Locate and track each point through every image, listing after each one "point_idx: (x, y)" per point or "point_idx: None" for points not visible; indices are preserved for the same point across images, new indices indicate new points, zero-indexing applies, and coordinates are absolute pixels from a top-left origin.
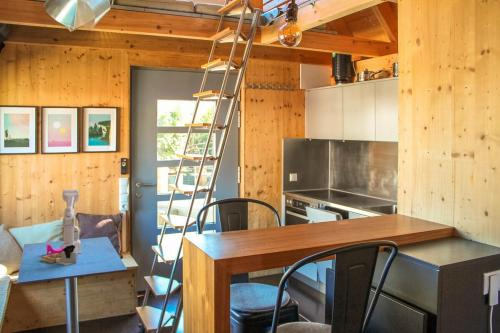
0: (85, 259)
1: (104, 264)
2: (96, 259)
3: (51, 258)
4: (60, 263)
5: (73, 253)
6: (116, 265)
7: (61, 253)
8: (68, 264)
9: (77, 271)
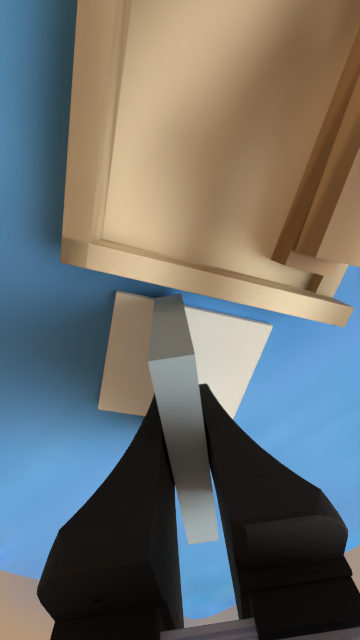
0: (339, 399)
1: (224, 559)
2: (346, 463)
3: (79, 159)
4: (111, 322)
5: (183, 515)
6: (222, 599)
7: (150, 347)
8: (118, 410)
9: (17, 550)
